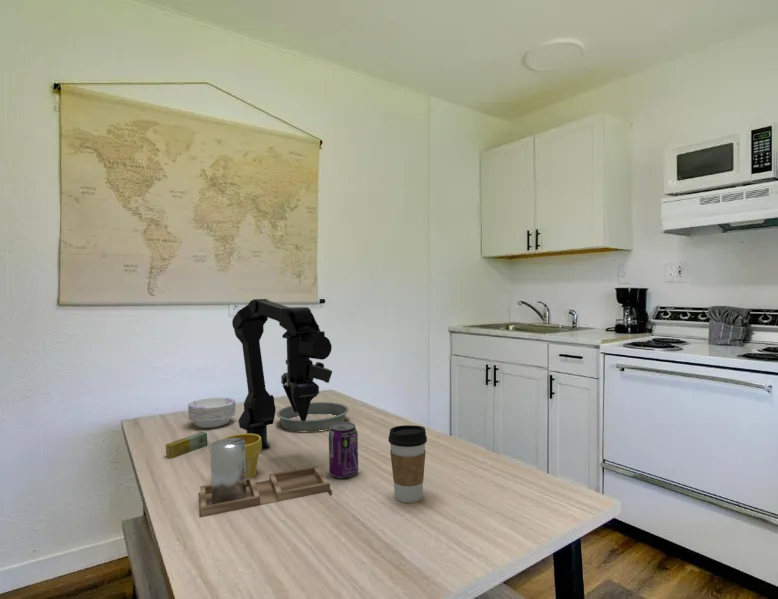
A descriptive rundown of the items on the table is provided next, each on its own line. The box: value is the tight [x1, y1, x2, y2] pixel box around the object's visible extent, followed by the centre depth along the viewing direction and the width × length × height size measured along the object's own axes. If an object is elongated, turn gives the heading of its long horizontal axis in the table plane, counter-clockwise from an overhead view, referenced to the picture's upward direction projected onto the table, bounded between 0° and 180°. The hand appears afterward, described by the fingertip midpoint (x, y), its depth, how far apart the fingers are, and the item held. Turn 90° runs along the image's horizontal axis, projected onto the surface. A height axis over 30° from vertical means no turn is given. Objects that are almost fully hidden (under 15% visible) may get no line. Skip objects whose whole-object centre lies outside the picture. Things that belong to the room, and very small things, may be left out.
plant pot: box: [221, 433, 263, 478], centre depth 109 cm, size 10×10×10 cm
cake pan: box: [276, 401, 350, 432], centre depth 156 cm, size 25×25×4 cm
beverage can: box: [328, 421, 359, 479], centre depth 111 cm, size 7×7×12 cm
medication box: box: [165, 431, 209, 459], centre depth 130 cm, size 12×3×4 cm, turn 151°
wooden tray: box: [198, 465, 333, 518], centre depth 100 cm, size 12×27×2 cm, turn 113°
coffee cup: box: [388, 425, 428, 504], centre depth 98 cm, size 8×8×15 cm
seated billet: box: [209, 438, 246, 504], centre depth 97 cm, size 7×7×12 cm
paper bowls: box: [187, 396, 236, 429], centre depth 156 cm, size 15×15×8 cm
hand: (299, 416), depth 117 cm, fingers open, 9 cm apart
